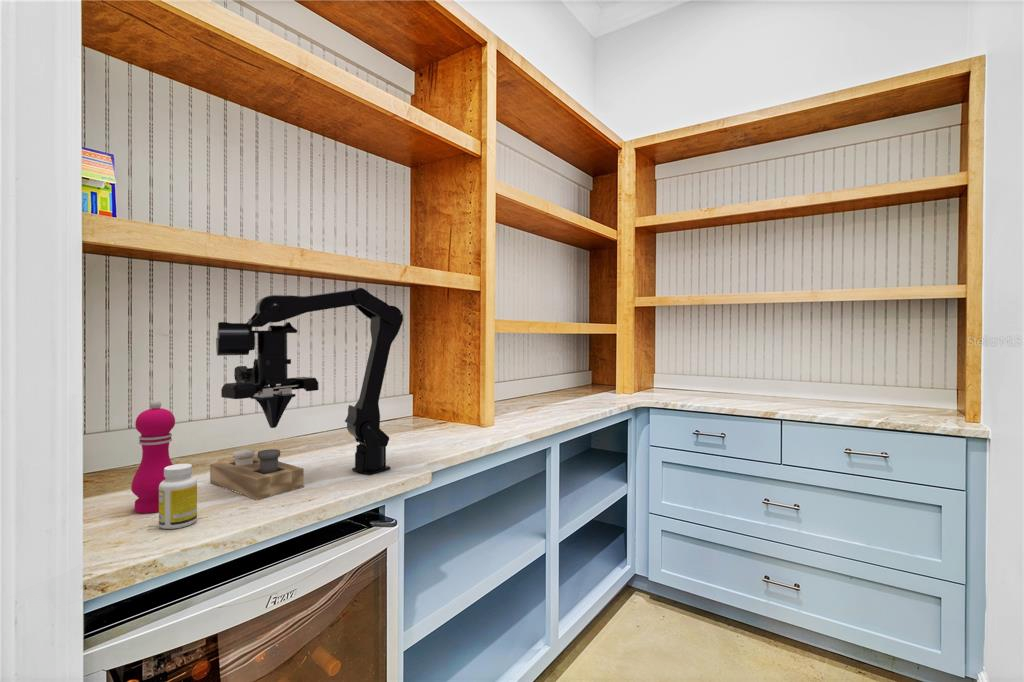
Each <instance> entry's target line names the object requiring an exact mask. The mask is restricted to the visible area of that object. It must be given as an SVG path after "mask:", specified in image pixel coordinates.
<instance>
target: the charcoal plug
mask: <svg viewBox="0 0 1024 682" xmlns="http://www.w3.org/2000/svg"><path fill="white" fill-rule="evenodd" d="M257 456H258V458H259V459H260V473H261V474H269V473H273V472H277V471H278V461H279V458H280V457H281V450H280V449H273V448H271V449H263V450H259V451H258V452H257Z"/></svg>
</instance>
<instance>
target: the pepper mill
mask: <svg viewBox="0 0 1024 682" xmlns="http://www.w3.org/2000/svg"><path fill="white" fill-rule="evenodd" d="M149 407H150V408H149V409H145V410H143V411H142V412H140V413H139V415H137V418H135V425H134V426H135V429H136V431H137V432H138V433H140V436H139V437H138V439H139V441H138V444H139V445H140V446H141V449H142V456H141V460H140V463H139V466H138V468H137V470H136V472H135V474H134V476H133V478H132V481H131V488H130V489H131V492H132V494H133V495H134V496H136V497H137V499H135V501H134V511H135V513H139V514H152V513H153V514H155V513H159V485H160V483H161V482H162V481H163V480H165V479H166V477H164V468H165V467H167V466H171V465H174V464H173V462H172V461H171V458H170V451H169V449H170V443H171V442H172V441H173V439H172V436H173V433H171V430H173V428H174V427H175V425H176V418H175V415H174V414H173V412H172V411H170V410H169V409H166V408H161V407H162V402H161V401H160V400H157V399H155V400H152V401H151V402H150V403H149Z"/></svg>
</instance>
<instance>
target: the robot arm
mask: <svg viewBox="0 0 1024 682" xmlns="http://www.w3.org/2000/svg"><path fill="white" fill-rule="evenodd" d="M349 306H350V307H351V306H353V307H355V308H356V309H357V310H358V311H359V312H360V313H361V314H363V315H364V316H365V317H366V318H368V319H369V320H370V323H369V324H370V328H369V330H370V336H371V337H370V338H371V344H370V345H371V346H370V350H369V352H368V357H367V361H366V367H365V370H364V376H363V379H362V386H361V390H360V394H359V398H358V400H357V402H356V403H355V405H354V406H353V405H350V404H349V405H348V406H347V407H348V408H347V416H346V418H345V420H344V423H346V430H347V431H348V433H349V434H350V435H351V436H353V437H354V439H355V442H356V443H359V444H356V450H355V451H356V452H354V467H352V468H351V470H352V471H354V472H357V473H361V474H365V475H373V474H377V473H380V472H381V473H382V472H384V471H387V470H390V469H391V466H390V465H387V464H386V463H387V453H386V452H387V446H388V444H389V441H390V437H389V435H387V434H386V433H385V432H384V431H383V430H382V429H381V428H380V423H381V410H380V406H379V403H380V402H379V401H380V397H381V393H382V392H381V391H382V386H383V383H384V380H385V379H384V378H385V374H386V369H387V365H388V359H389V355H390V351H391V346H392V344H393V342H394V341H395V339H396V338H397V335H398V334H399V332H400V329H401V327H402V325H403V323H404V322H403V321H404V315H403V313H402V311H401V310H400V309H399V308H398V307H397V306H395V305H389V304H388V303H387V302H385V301H384V300H382V299H380V298H378V297H377V296H374V295H373V294H371V293H370V292H368V290H366V288H362V287H356V288H352V289H347V290H339V291H332V292H326V293H320V294H319V293H318V294H311V295H292V294H291V295H290V294H289V295H286V294H270V295H268V296H264V297H262V298H260V299H259V300H258V302H257V303H256V306H255V313H254V314H253V315H252V316H251V317H250V318H249V319H248V321H247V322H245V323H243V322H242V323H240V322H239V323H238V322H237V323H235V322H233V323H232V322H226V321H220V322H219V321H218V322H217V330H216V331H217V333H216V335H217V336H216V338H215V342H216V343H215V347H216V348H215V349H216V356H249V354H250V351H254V350H255V348H256V338H257V358H255V359H254V360H253V365H252V366H253V367H249V368H248V367H247V365H239V366H236V367H234V372H233V373H234V374H233V375H234V381H235V382H227V383H224V384H223V386H222V387H221V389H220V391H221V395H220V396H221V398H224V399H232V400H242V399H243V400H244V399H251V400H255V401H256V402H257V403H258V404H259V406H260V408H261V409H262V411H263V413H264V416H265V419H266V420H267V422H268V425H269V428H270V429H276V428H277V427H278V425H279V423H280V420H281V419H282V416H283V414H284V413H285V410H286V408H287V407H288V405H289V404H290V402H291V400H292V399H293V398H295V397H296V396H297V395H296V393H293V390H300V389H303V390H305V392H313V391H319V390H320V389H319V381H318V380H317V378H316V377H309V376H301V377H299V376H298V377H297V376H296V377H288V365H292V359H291V358H288V334H297V333H298V329H296V328H295V327H294V326H293V325H292V324H291V322H290V321H289V322H288V321H286V322H285V323H284V325H269V326H268V328H267V330H253V328H263V327H264V326H266V325H267V324H271V323H273V324H274V323H279V322H283V321H285V320H289V319H292V318H295V317H298V316H300V315H303V314H306V313H311V312H317V311H324V310H330V309H337V308H343V307H349ZM256 336H257V337H256Z"/></svg>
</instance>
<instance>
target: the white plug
mask: <svg viewBox="0 0 1024 682" xmlns="http://www.w3.org/2000/svg"><path fill="white" fill-rule="evenodd" d="M232 455H233V456H232V457H233V459H234V460H235V466H238V467H240V466H244V465H249V464H253V456H255V455H256V450H255V449H251V448H249V449H248V448H244V449H238V450H235V451H233V452H232Z"/></svg>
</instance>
